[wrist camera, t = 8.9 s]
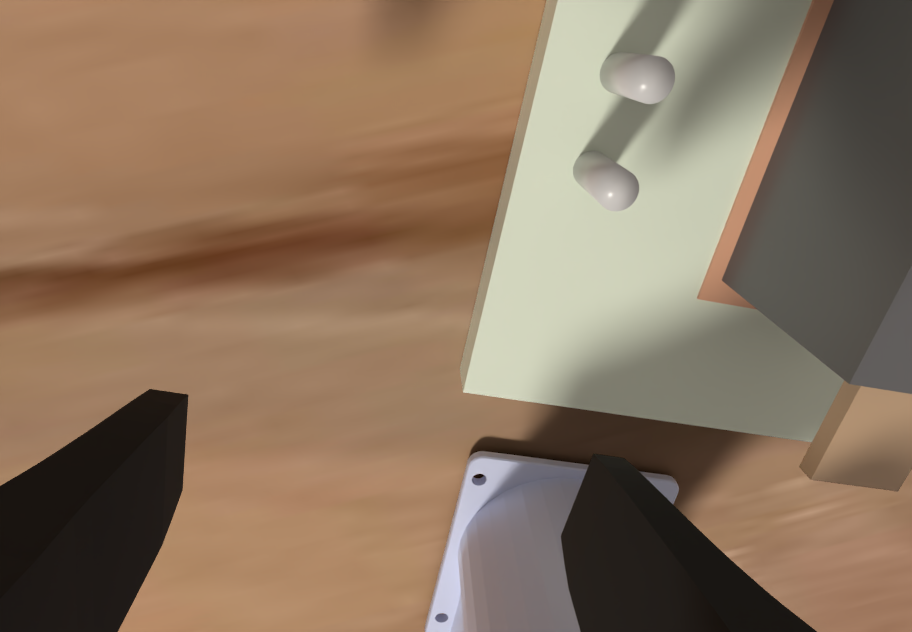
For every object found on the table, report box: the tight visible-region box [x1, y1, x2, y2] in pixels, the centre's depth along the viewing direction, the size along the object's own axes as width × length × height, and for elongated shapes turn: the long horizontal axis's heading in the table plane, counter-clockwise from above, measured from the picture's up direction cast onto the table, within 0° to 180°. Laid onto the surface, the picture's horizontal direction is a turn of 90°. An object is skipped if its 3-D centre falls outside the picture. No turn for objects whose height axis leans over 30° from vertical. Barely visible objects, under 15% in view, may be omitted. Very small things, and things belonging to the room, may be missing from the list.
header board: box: [460, 0, 844, 442], centre depth 17 cm, size 18×16×4 cm
